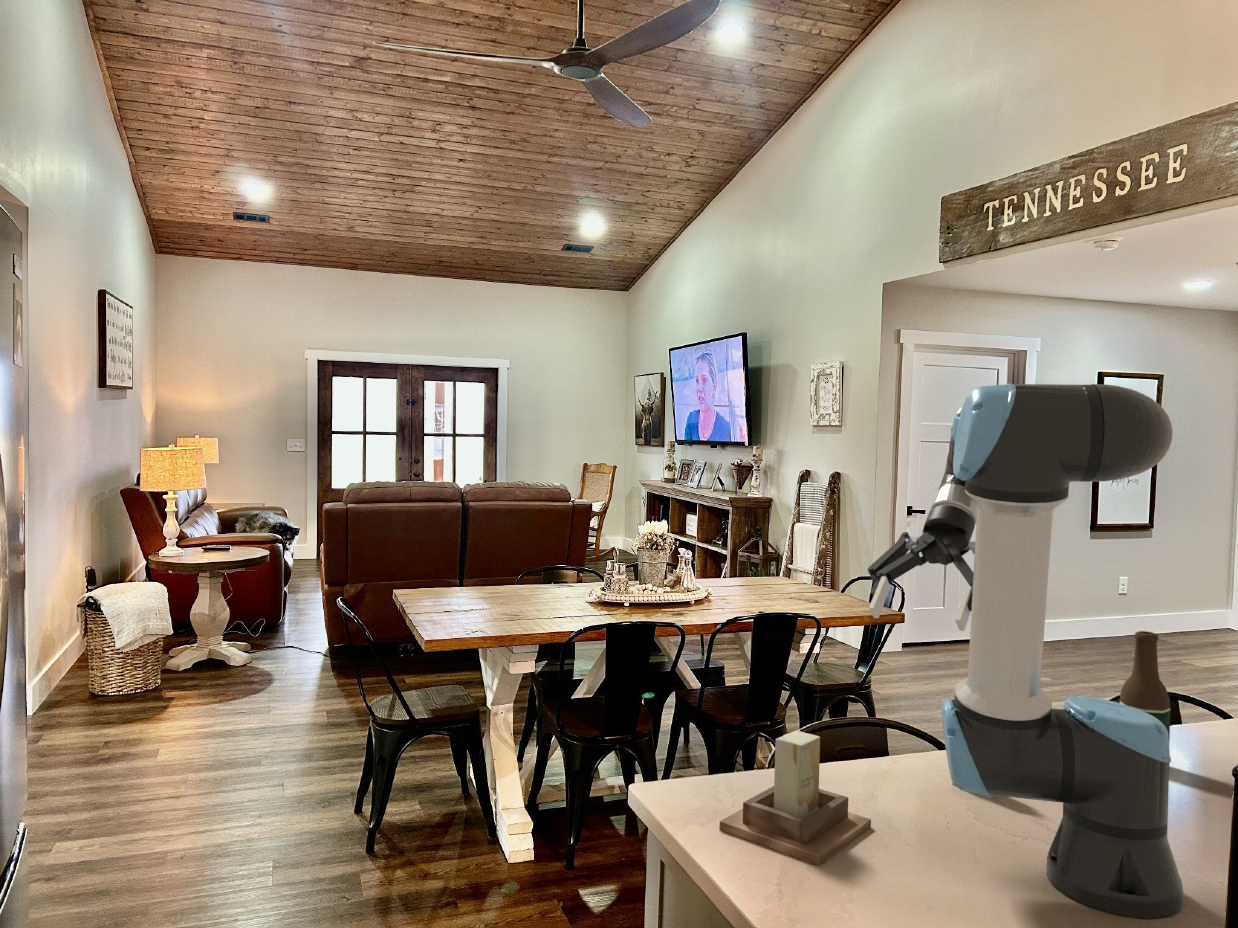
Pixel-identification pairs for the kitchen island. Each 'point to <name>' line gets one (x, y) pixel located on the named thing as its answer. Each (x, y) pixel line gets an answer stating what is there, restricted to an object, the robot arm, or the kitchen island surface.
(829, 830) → the walnut box stand
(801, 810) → the skincare box
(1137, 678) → the beer bottle
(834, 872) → the kitchen island surface
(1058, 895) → the kitchen island surface
